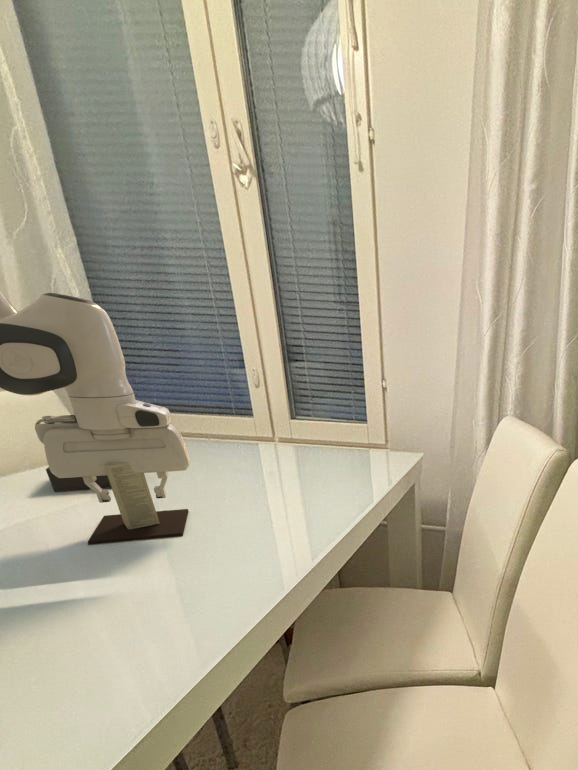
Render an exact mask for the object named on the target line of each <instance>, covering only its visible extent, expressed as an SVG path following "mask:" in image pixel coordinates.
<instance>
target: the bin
mask: <svg viewBox="0 0 578 770" xmlns="http://www.w3.org/2000/svg"><path fill="white" fill-rule="evenodd" d="M45 471H46V474H47V476H48V477H47V478H48V480H49V482H50V484H51V488H52V491H53V492H54V493H55V492H56V493H58V492H72V491H85V490H91V489H90V488H89V487H88V486H87V485H86V484H85V483H84V480H83V477H70V478H58V477H57V476H55V475H54V474H52V473H51V471H50V469H49V466H48V467H47V468H45ZM96 478H97V479H96V480H95V483H96V484H97V485H98V486H99V487H100V488H101V489H102V490H104V489H112V488H111V485H110V482H109V479H108V476H107V475H103V476H96Z"/></svg>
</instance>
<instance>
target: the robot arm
mask: <svg viewBox="0 0 578 770" xmlns="http://www.w3.org/2000/svg"><path fill="white" fill-rule="evenodd" d="M126 373H127V372H126V360H125V357H124V353H123V349H122V347H121V343H120V340H119V337H118V334H117V331H116V329H115V327H114V324H113V322H112V319H111V317H110V316H109V315H108V313H107V311H106V310H105V309H104V308H102V306H100V305H99V304H97V303H96V302H94V301H92V300H90V299H85V298H81V297H76V296H72V295H68V294H63V293H62V294H60V293H56V292H46V293H42V294H41V295H40V297H39V298H38V299H37V300H35V301H34V302H32V303H31V304H29V305H28V306H26V307H25V308H23V309H21V310H17V309H16V308H15V307H14V306H13V304H11V302H10V301H9V300H8V298H7V297H6V296H5V294H3V292H2V291H1V290H0V389H2V390H4V391H7V392H8V393H12V394H16V395H20V396H29V397H30V396H38V395H39V396H40V395H42V394H45V393H47V392H51V391H55V390H60V389H64V390H65V391H66V394H67V396H68V399H69V402H70V406H71V408H72V411H73V413H74V414H64V415H63V414H62V415H54V416H53V415H44V416H42V417H41V418H40V419H38V420H36V422H35V424H34V430H35V433H36V436H37V438H38V440H39V442H40V443H41V444H42V445H43V448H44V453H45V457H46V461H47V462H46V463H47V465H48V467H49V469H50V471H51V473H52V474H54V475H55V476H57V477H58V478H70V477H83V480H84V483H85V484H86V485H87V486H88V487H89V488H90V489H89V490H91V491H92V492H94V494H96V497H97V499H98V502H99V503H100V504H101V503H102V504H103V503H111V501H112V497H111V495H110V491H109V489H101V488H100V487H99V486H98V485H97V484H96V483H95V480H96V479H97V478H96V476H103V475H108V472H107V469H106V466H105V465H106V464H107V463H130V465H131V469H132V470H133V471H134V472H135V473H144V474H152V473H156V476H157V478H158V479H161V480H160V484H159V485H155V486H154V487H153V492H154V494H155V498H156V499H167V491H166V483H167V480H168V477H169V472H184V471H187V470H188V468H189V467H190V466H191V458H190V454H189V450H188V448H187V445H186V443H185V440H184V438H183V435H182V432H181V431H180V430H179V428H178V427H177V426H176V425H175V424H173V423H171V422H172V414H171V412H170V410H169V408H167V407H164V406H160V405H157V404H153V403H149V402H145V401H141V400H138V399H136V396H135V393H134V390H133V388H132V386H131V384H130V382H129V380H128V377H127V374H126Z"/></svg>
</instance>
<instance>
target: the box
mask: <svg viewBox="0 0 578 770" xmlns="http://www.w3.org/2000/svg"><path fill="white" fill-rule="evenodd" d="M105 466H106V469H107V472H108V475H107V476H108V479H109V482H110V485H111V488H110V489H111V490H112V493H113V496H114V499H115V502H116V504H117V508H118V511H119V514H121V516H122V519H123V522H124V524H125V526H126V527H127V528H128V529H129V530H130V529H135V528H141V527H145V526H151V525H155V524H159V519H158V516H157V513H156V511H157V509H156V507H155V504H154V501H153V498H152V495H151V492H150V488H149V485H148V481H147V479H146V476H145V473H135V472H134V471H133V470H132V469H131V465H130V463H107V464H106V465H105Z"/></svg>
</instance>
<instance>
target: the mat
mask: <svg viewBox="0 0 578 770" xmlns="http://www.w3.org/2000/svg"><path fill="white" fill-rule="evenodd" d="M189 512H190V511H189V508H181V509H170V510H156V513H157V516H158V519H159V524H155V525H151V526H145V527H141V528H135V529H130V530H129V529H128V528H127V527H126V526H125V524H124V522H123V519H122V516H121V514H120V513H119V514H107V515H103V516H102V518H101V520H100V521H99V522H98V525H97V526H96V527H95V529H94V531H93V533H92V534H91V536H90V537H89V539H88V540H87V544H88V545H89V546H90V545H100V544H110V543H119V542H130V541H140V540H151V539H162V538H172V537H173V538H174V537H182V536H184V533H185V529H186V524H187V520H188V516H189Z"/></svg>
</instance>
